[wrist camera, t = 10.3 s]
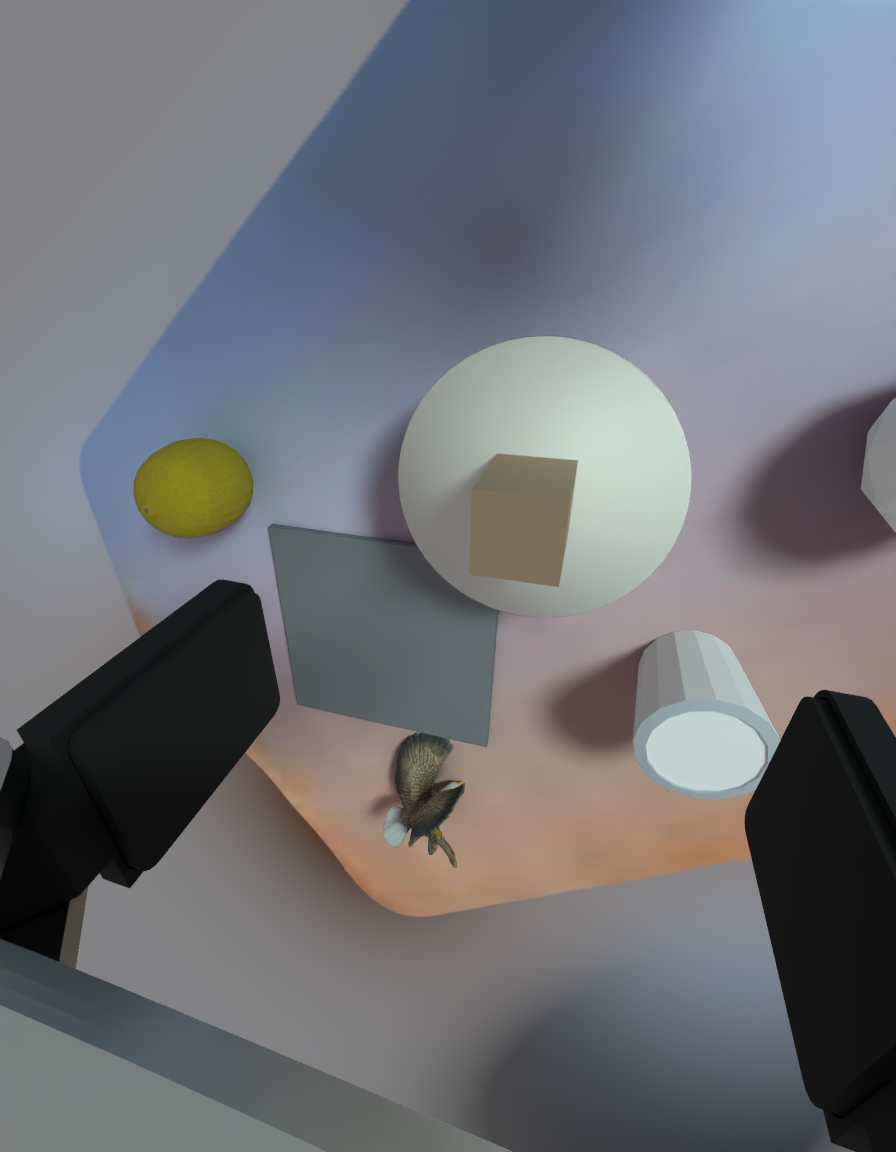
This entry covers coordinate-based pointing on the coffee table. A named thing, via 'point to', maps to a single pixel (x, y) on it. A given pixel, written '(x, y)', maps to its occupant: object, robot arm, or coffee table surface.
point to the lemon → (193, 488)
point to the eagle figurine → (422, 794)
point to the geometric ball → (882, 465)
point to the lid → (544, 476)
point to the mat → (383, 634)
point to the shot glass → (699, 719)
